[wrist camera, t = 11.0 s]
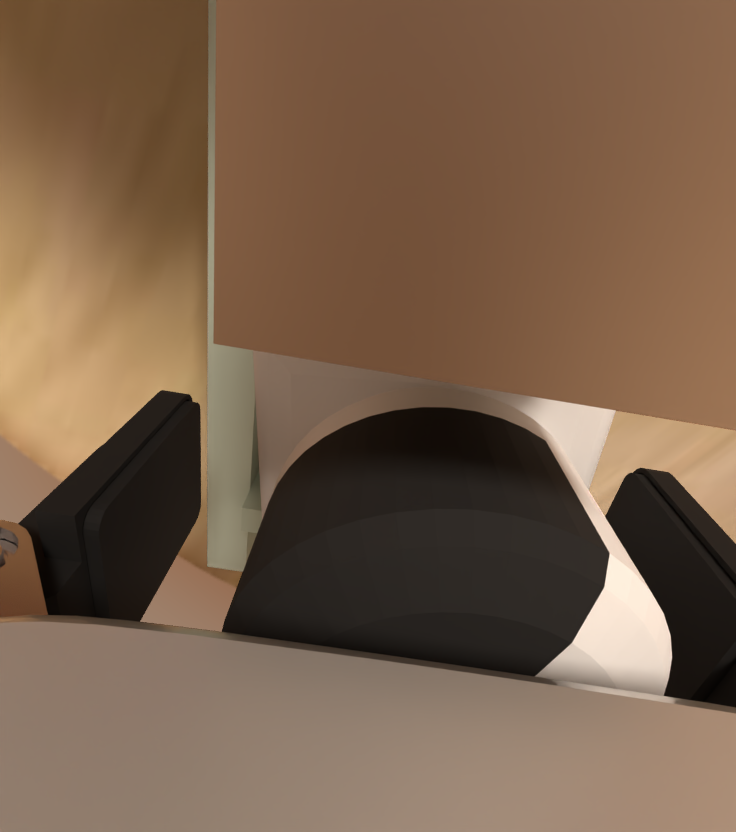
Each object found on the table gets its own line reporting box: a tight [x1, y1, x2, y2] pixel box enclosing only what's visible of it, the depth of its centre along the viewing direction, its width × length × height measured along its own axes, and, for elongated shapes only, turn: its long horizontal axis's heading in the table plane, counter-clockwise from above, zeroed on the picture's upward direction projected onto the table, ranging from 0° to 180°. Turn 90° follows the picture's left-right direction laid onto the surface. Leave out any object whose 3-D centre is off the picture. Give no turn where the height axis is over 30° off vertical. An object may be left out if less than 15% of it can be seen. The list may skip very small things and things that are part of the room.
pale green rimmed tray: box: [207, 0, 262, 572], centre depth 15 cm, size 12×20×5 cm, turn 171°
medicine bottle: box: [222, 350, 672, 696], centre depth 11 cm, size 7×7×12 cm
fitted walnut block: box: [213, 0, 736, 430], centre depth 8 cm, size 5×6×12 cm
